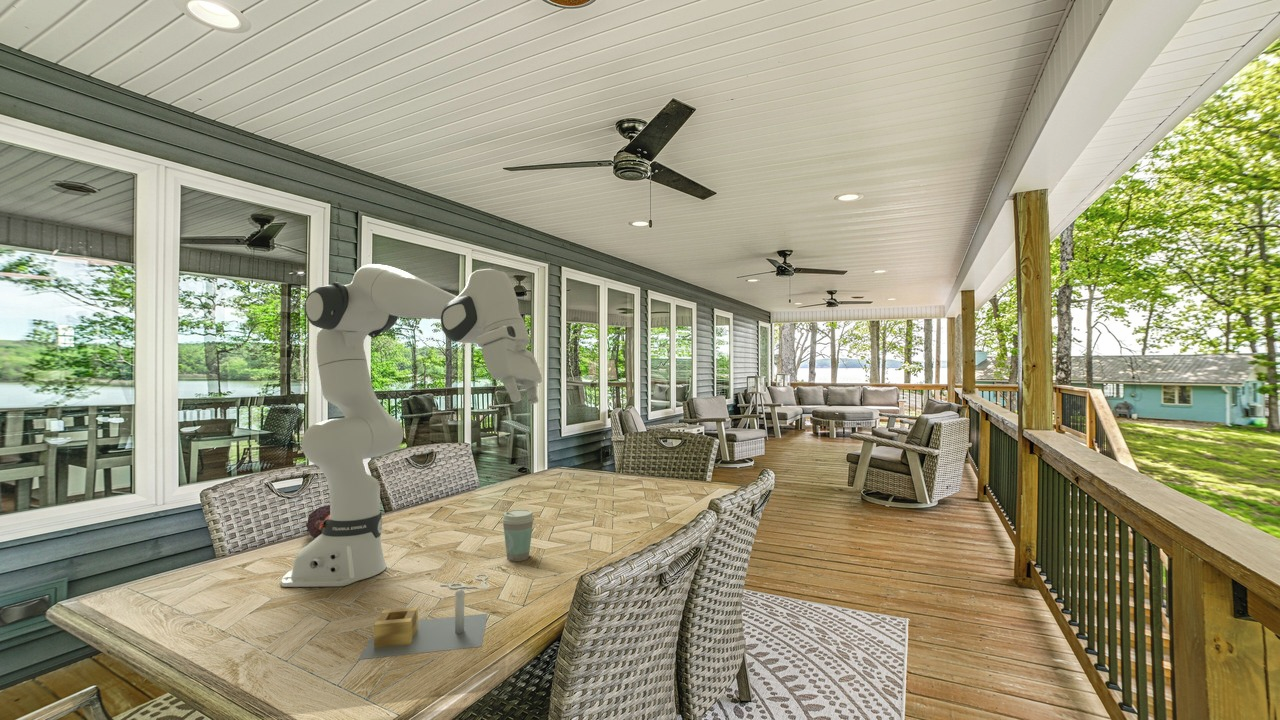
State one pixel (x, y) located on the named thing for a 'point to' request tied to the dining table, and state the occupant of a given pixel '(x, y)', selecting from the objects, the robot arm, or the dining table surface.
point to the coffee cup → (517, 533)
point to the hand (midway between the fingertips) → (525, 402)
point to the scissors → (468, 586)
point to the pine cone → (317, 520)
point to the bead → (395, 627)
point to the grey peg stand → (438, 634)
